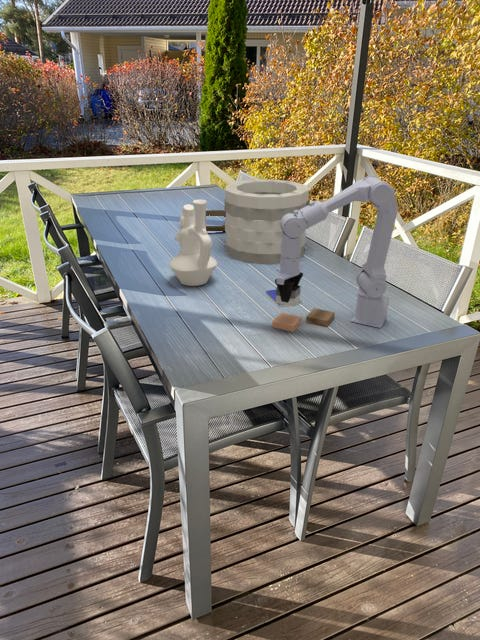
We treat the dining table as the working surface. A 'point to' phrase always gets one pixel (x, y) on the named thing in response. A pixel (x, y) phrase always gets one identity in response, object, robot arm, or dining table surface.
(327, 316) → the stand
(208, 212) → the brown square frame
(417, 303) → the dining table surface
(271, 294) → the hard drive
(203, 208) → the double spout vessel
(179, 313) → the dining table surface
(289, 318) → the stand
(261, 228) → the storage basket
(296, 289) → the block
